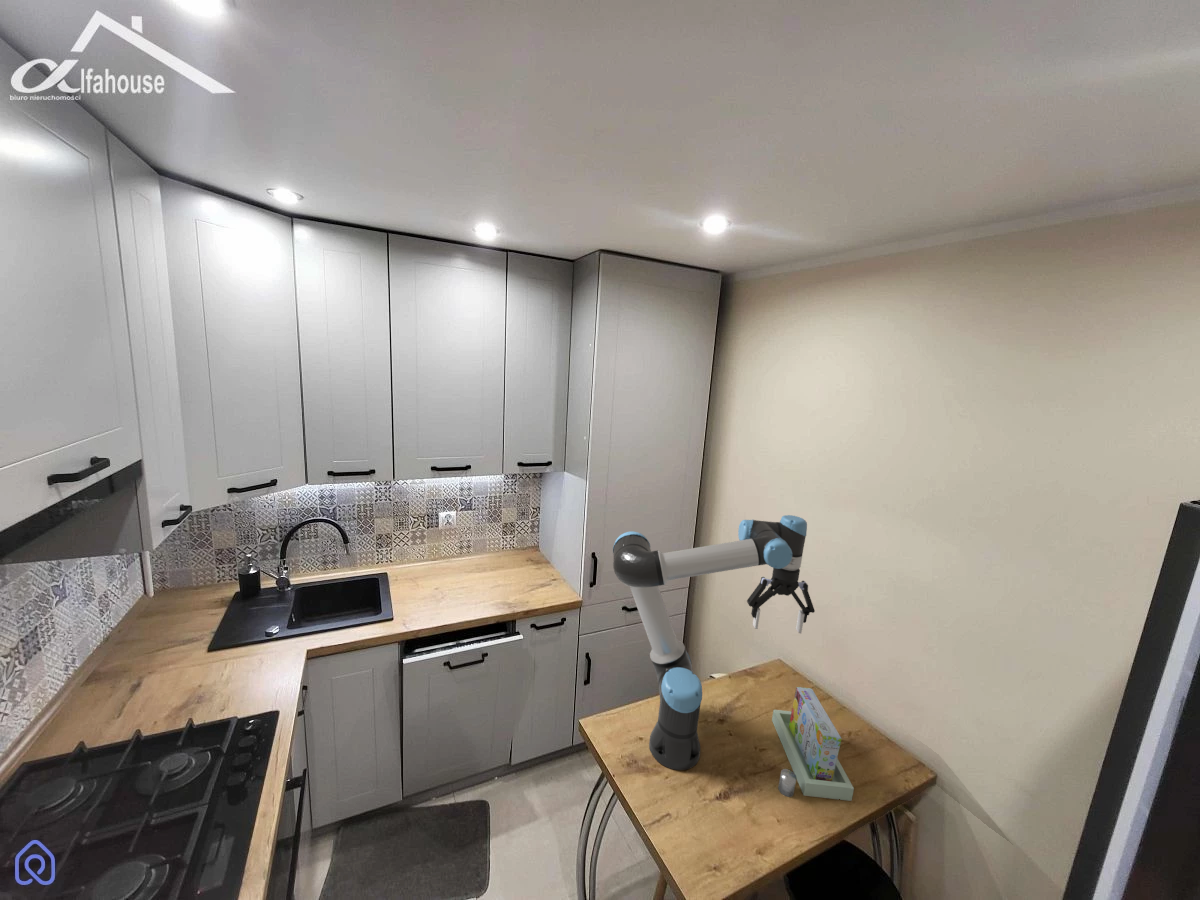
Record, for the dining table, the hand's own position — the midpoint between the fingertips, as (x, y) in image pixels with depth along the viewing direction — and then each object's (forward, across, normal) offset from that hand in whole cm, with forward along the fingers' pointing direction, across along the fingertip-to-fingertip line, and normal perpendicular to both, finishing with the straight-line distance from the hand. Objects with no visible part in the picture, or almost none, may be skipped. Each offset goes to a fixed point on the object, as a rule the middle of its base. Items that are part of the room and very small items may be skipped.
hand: (776, 628), depth 147 cm
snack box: (+34, +11, -11) cm, 37 cm away
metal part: (+35, 0, -24) cm, 42 cm away
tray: (+35, +11, -11) cm, 38 cm away
